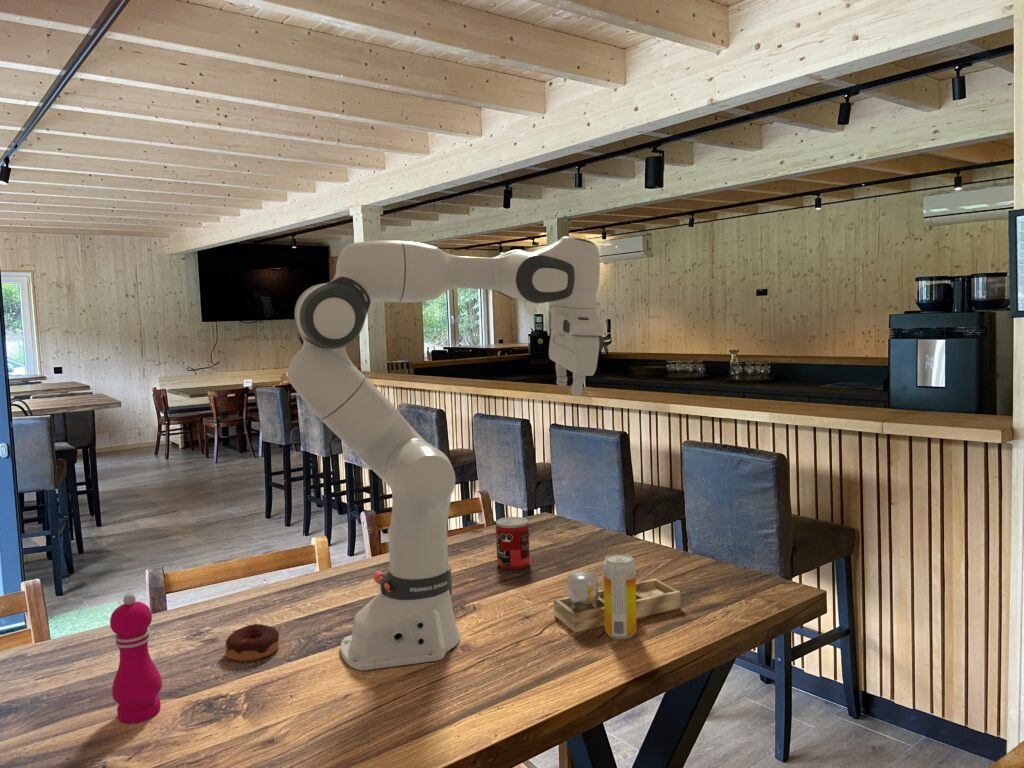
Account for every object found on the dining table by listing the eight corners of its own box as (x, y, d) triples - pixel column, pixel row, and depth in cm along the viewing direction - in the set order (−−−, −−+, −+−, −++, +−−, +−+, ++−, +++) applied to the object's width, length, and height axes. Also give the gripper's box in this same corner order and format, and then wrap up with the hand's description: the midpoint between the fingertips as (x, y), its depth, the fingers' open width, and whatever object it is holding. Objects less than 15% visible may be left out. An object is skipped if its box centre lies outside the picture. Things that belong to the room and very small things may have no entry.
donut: (249, 669, 139) (248, 648, 138) (213, 657, 144) (212, 637, 143) (292, 647, 147) (290, 627, 147) (257, 636, 152) (255, 617, 152)
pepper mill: (171, 700, 128) (161, 584, 126) (152, 724, 121) (141, 601, 119) (127, 702, 128) (116, 586, 126) (105, 726, 120) (94, 604, 118)
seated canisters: (577, 618, 151) (577, 584, 150) (563, 607, 156) (562, 574, 155) (638, 605, 156) (637, 571, 156) (622, 595, 162) (621, 563, 161)
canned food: (493, 561, 191) (492, 518, 190) (524, 557, 194) (522, 515, 193) (502, 571, 184) (500, 526, 183) (533, 567, 187) (532, 523, 185)
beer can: (635, 627, 151) (634, 553, 149) (637, 640, 145) (636, 563, 143) (604, 626, 151) (602, 553, 150) (605, 640, 145) (603, 563, 144)
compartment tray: (575, 632, 149) (574, 615, 149) (554, 616, 157) (554, 599, 157) (680, 608, 159) (680, 591, 159) (656, 594, 167) (655, 578, 167)
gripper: (543, 314, 160) (539, 379, 163) (574, 327, 141) (568, 400, 143) (572, 315, 162) (568, 380, 164) (606, 328, 142) (600, 400, 145)
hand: (568, 389), depth 154 cm, fingers open, 8 cm apart
